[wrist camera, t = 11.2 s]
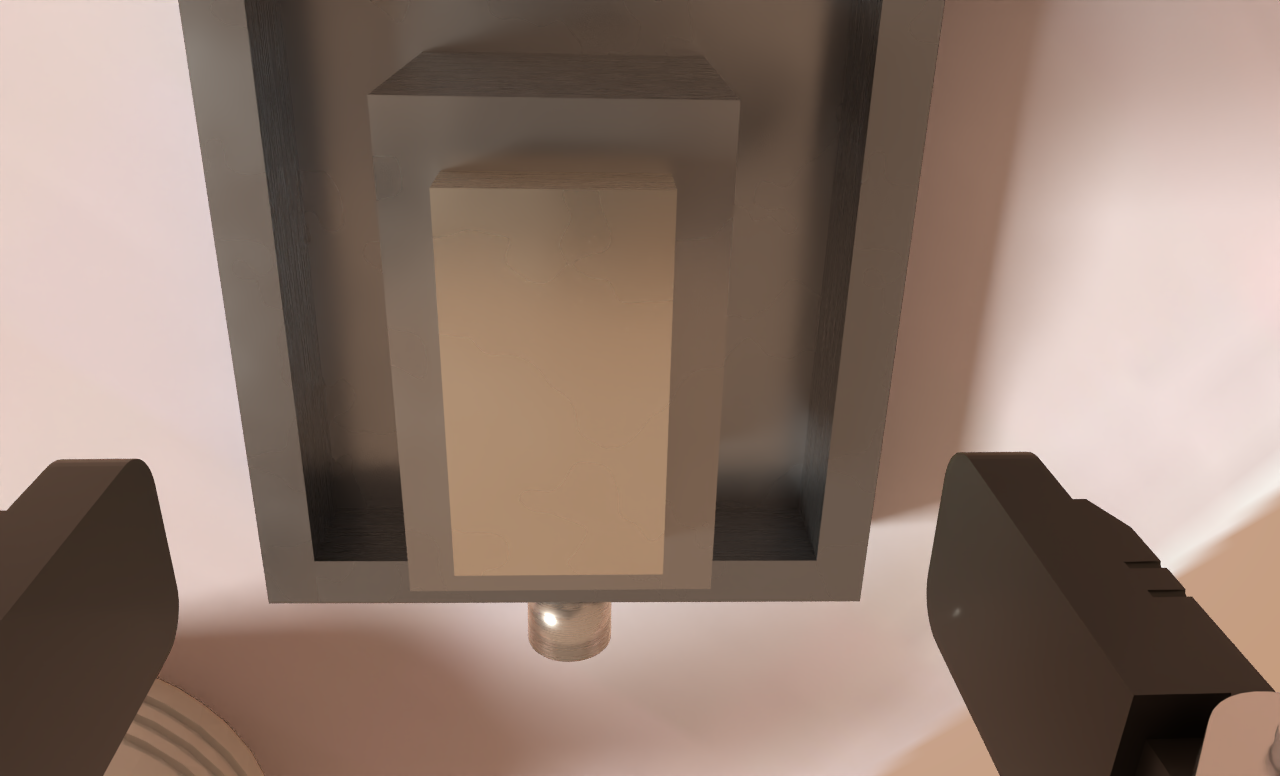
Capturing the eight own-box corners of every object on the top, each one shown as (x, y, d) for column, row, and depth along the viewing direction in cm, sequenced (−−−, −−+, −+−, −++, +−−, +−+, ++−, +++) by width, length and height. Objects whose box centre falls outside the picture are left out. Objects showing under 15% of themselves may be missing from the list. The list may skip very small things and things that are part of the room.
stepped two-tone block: (423, 51, 18) (351, 107, 13) (703, 55, 18) (751, 113, 13) (448, 448, 21) (399, 629, 16) (685, 448, 22) (717, 626, 16)
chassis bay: (204, -224, 17) (141, -247, 14) (923, -197, 17) (975, -216, 15) (310, 591, 24) (278, 666, 21) (825, 590, 24) (851, 662, 22)
